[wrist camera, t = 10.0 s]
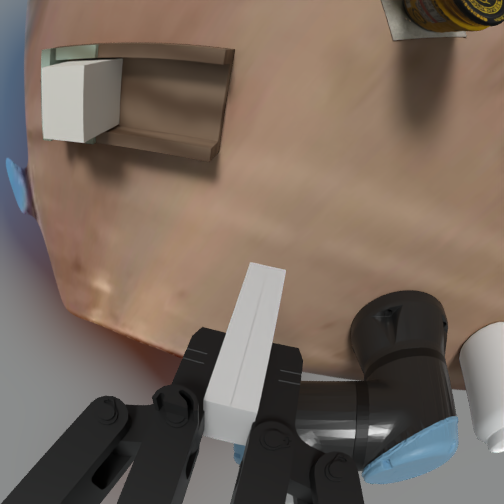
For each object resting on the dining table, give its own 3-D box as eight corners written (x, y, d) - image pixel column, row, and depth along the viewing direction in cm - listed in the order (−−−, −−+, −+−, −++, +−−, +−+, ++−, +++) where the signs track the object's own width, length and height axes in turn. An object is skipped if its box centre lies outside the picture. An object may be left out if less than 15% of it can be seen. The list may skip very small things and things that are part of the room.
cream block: (119, 124, 33) (83, 142, 28) (80, 120, 34) (43, 138, 28) (122, 58, 28) (84, 65, 23) (82, 58, 29) (41, 67, 23)
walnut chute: (218, 151, 35) (206, 165, 31) (65, 128, 36) (43, 140, 32) (234, 49, 28) (222, 49, 24) (65, 45, 29) (41, 50, 25)
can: (481, 315, 41) (514, 426, 25) (528, 322, 40) (563, 417, 24) (446, 363, 48) (461, 463, 32) (493, 366, 47) (513, 455, 31)
